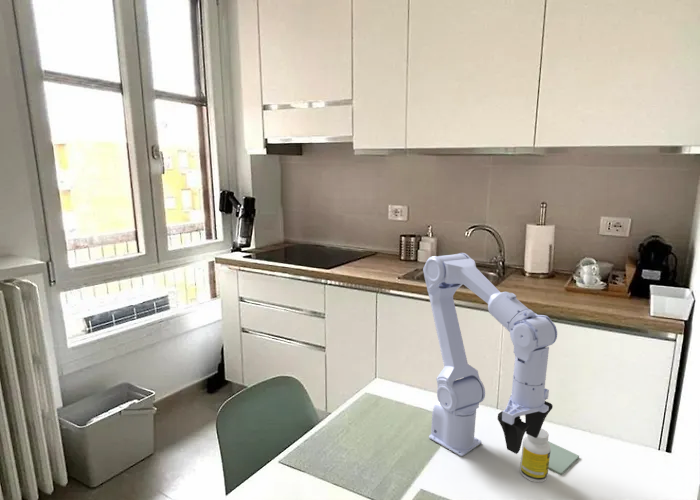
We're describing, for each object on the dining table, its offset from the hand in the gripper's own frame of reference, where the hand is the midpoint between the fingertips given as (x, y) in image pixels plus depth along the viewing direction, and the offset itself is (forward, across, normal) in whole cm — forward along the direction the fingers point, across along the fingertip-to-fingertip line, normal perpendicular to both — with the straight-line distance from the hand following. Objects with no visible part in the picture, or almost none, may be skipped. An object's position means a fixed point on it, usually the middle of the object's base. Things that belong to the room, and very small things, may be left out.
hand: (522, 442), depth 91 cm
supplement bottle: (+11, +7, 0) cm, 13 cm away
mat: (+10, +15, 0) cm, 18 cm away
